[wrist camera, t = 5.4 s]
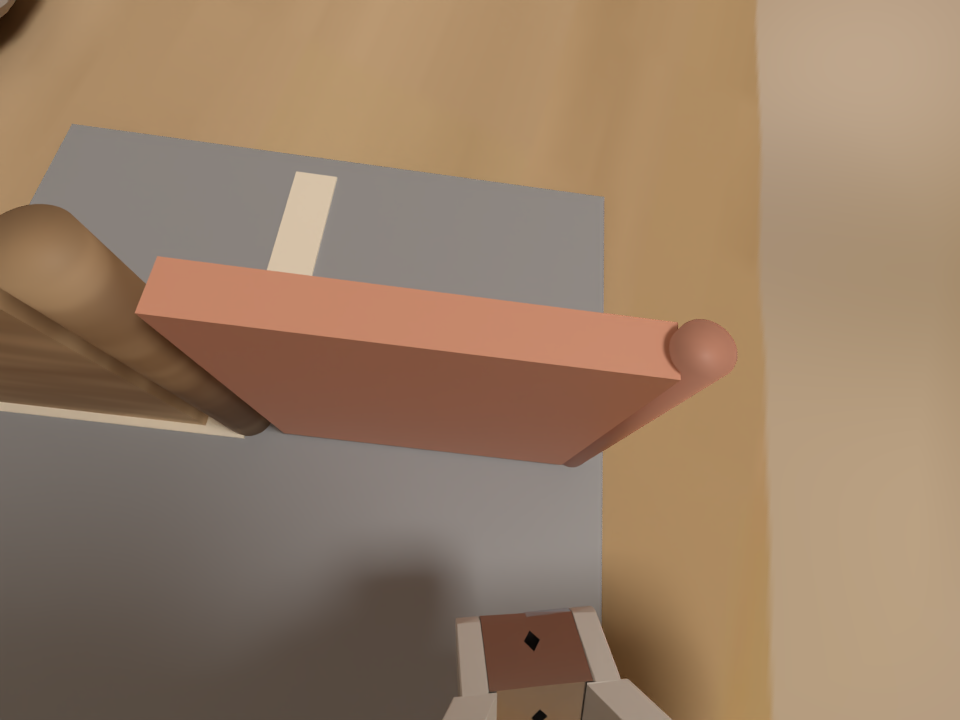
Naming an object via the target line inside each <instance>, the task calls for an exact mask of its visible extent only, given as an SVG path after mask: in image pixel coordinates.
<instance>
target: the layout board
mask: <svg viewBox="0 0 960 720" xmlns="http://www.w3.org/2000/svg"><path fill="white" fill-rule="evenodd" d="M32 204H49V205H54V206H57V207H60V208H63V209H65V210H67V211H68V212H70V213H71V214H72V215H73V216H74V217H75V218H76V219H77V220H78V221H79V222H81V223H82V224H83V225H84V226H85V227H86V228H87V229H88V230H89V231H90V232H91V233H92V234H93V235H94V236H95V237H97V238H98V239H99V240H100V241H101V242H102V243H103V244H104V245H105V246H106V247H107V248H108V249H109V250H110V251H111V252H113V253H114V254H115V255H116V256H117V257H118V258H119V259H120V260H121V261H122V262H123V263H124V264H125V265H126V266H127V267H129V268H130V269H131V270H132V271H133V272H134V273H135V274H136V275H137V276H138V277H139V278H140V279H141V280H142V281H143V282H145V283H147V281H148V278H149V276H150V273H151V270H152V268H153V265H154V263H155V260H156V258H157V256H160V257H168V258H176V259H183V260H191V261H199V262H207V263H215V264H223V265H230V266H238V267H246V268H254V269H262V270H270V271H278V272H285V273H293V274H301V275H309V276H317V277H325V278H333V279H340V280H348V281H356V282H364V283H372V284H380V285H387V286H395V287H403V288H411V289H419V290H427V291H435V292H442V293H450V294H458V295H466V296H474V297H482V298H489V299H497V300H505V301H513V302H521V303H529V304H537V305H544V306H552V307H560V308H568V309H576V310H584V311H591V312H599V313H603V304H604V197H600V196H593V195H585V194H578V193H571V192H564V191H556V190H549V189H542V188H534V187H527V186H520V185H513V184H505V183H498V182H491V181H484V180H476V179H469V178H462V177H454V176H447V175H440V174H433V173H425V172H418V171H411V170H403V169H396V168H389V167H382V166H374V165H367V164H360V163H353V162H345V161H338V160H331V159H323V158H316V157H309V156H302V155H294V154H287V153H280V152H272V151H265V150H258V149H251V148H243V147H236V146H229V145H222V144H214V143H207V142H200V141H192V140H185V139H178V138H171V137H163V136H156V135H149V134H141V133H134V132H127V131H120V130H112V129H105V128H98V127H91V126H83V125H76V124H72V125H71V127H70V129H69V131H68V133H67V135H66V137H65V138H64V140H63V142H62V144H61V146H60V148H59V150H58V152H57V153H56V155H55V157H54V159H53V161H52V163H51V165H50V167H49V168H48V170H47V172H46V174H45V176H44V178H43V180H42V182H41V183H40V185H39V187H38V189H37V191H36V193H35V195H34V197H33V198H32V200H31V202H30V204H29V205H32ZM602 460H603V451H602V452H601V453H599V454H597V455H596V456H594V457H593V458H591V459H589V460H588V461H586V462H584V463H583V464H581V465H580V466H577V467H567V466H565V465H563V464H562V465H557V464H548V463H540V462H531V461H522V460H513V459H504V458H496V457H487V456H478V455H469V454H461V453H452V452H443V451H434V450H425V449H417V448H408V447H399V446H390V445H382V444H373V443H364V442H355V441H347V440H338V439H329V438H320V437H311V436H303V435H294V434H285V433H283V432H282V431H280V430H279V429H278V428H277V427H276V426H274V425H273V424H272V423H270V425H269V426H268V427H267V428H266V429H265V430H264V431H263V432H261V433H259V434H257V435H253V436H244V435H240V434H238V433H236V432H234V431H232V430H231V429H229V428H228V427H226V426H224V425H223V424H221V423H219V422H218V421H216V420H214V419H213V418H211V417H210V416H209V417H208V420H207V423H206V425H199V424H190V423H181V422H173V421H164V420H155V419H146V418H137V417H129V416H120V415H111V414H102V413H94V412H85V411H76V410H67V409H58V408H50V407H41V406H32V405H23V404H15V403H6V402H0V720H442V719H443V717H444V715H445V713H446V711H447V709H448V707H449V705H450V703H451V701H452V699H453V697H458V687H457V665H456V627H455V619H456V618H461V617H472V616H486V615H502V614H518V613H524V612H529V611H538V610H548V609H557V608H566V607H568V608H573V607H583V606H592V607H593V608H594V609H595V611H596V613H597V616H598V619H599V621H600V624H601V615H602Z"/></svg>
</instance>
